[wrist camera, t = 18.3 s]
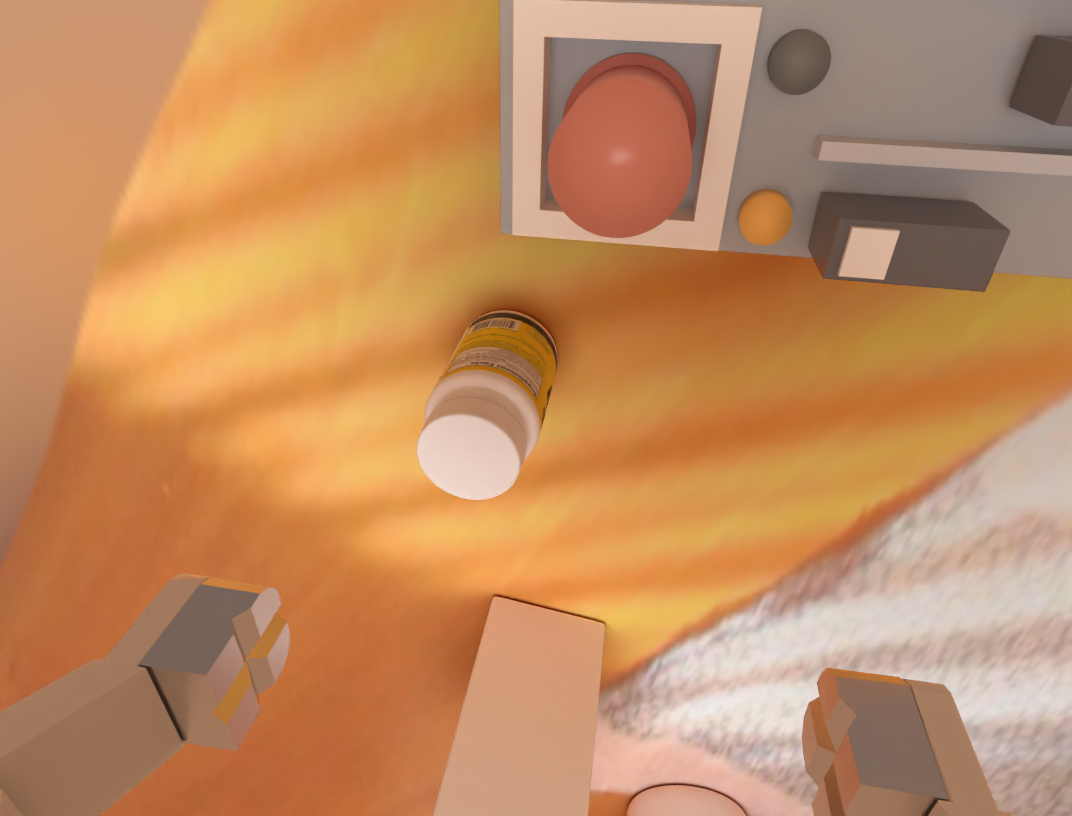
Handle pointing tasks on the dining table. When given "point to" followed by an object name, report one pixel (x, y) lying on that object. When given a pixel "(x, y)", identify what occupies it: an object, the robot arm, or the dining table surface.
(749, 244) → the panel
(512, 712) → the milk carton
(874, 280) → the block
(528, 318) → the supplement bottle
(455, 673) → the dining table surface
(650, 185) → the cap
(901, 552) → the dining table surface
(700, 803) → the fruit juice
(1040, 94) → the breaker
